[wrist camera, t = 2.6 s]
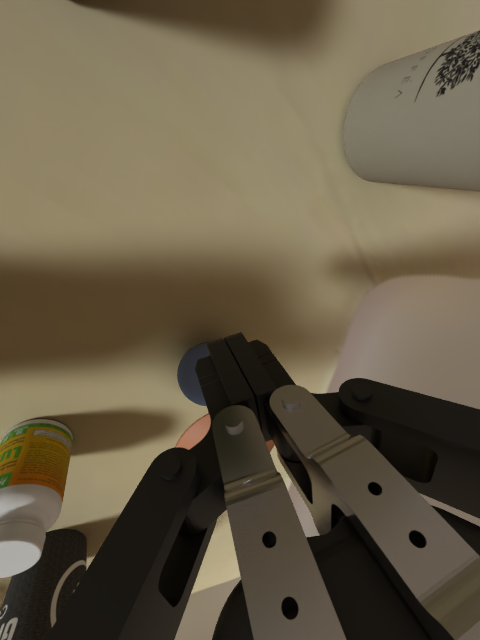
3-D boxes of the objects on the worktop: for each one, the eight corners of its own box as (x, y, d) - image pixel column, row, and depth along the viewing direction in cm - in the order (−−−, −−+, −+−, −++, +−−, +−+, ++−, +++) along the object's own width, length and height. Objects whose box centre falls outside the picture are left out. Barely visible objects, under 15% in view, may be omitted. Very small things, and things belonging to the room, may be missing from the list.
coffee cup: (43, 512, 31) (-11, 751, 18) (118, 529, 36) (116, 724, 24) (-19, 568, 32) (-110, 834, 19) (64, 577, 37) (34, 790, 24)
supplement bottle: (25, 408, 25) (-21, 528, 17) (86, 428, 28) (71, 538, 20) (-11, 451, 26) (-72, 585, 18) (52, 466, 29) (24, 587, 20)
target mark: (189, 497, 38) (189, 498, 38) (158, 432, 31) (158, 433, 31) (281, 457, 40) (281, 458, 40) (271, 388, 34) (272, 390, 34)
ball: (181, 386, 29) (192, 429, 25) (165, 342, 26) (174, 381, 22) (233, 368, 30) (253, 405, 26) (223, 323, 28) (243, 356, 23)
